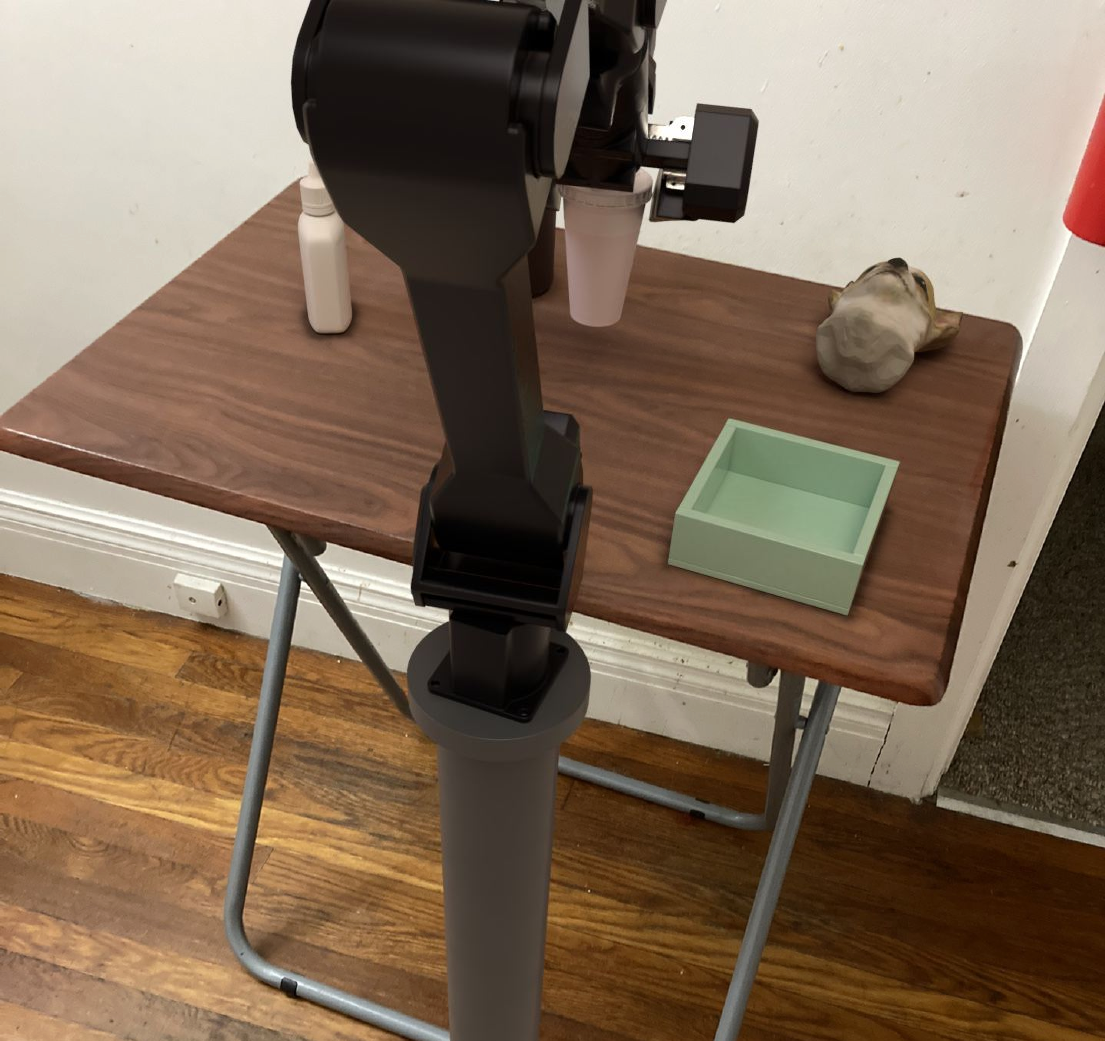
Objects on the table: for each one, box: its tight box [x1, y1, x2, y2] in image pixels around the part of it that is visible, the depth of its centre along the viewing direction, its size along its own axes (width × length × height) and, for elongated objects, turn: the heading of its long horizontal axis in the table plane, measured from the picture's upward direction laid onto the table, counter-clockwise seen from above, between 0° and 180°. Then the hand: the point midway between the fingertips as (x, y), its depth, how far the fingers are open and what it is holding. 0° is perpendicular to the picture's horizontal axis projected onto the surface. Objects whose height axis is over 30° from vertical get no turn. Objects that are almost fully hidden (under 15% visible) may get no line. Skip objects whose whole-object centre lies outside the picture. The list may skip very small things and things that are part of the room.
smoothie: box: [558, 167, 654, 328], centre depth 80 cm, size 6×6×14 cm
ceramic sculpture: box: [815, 257, 964, 394], centre depth 89 cm, size 11×9×15 cm
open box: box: [667, 418, 901, 616], centre depth 74 cm, size 12×12×4 cm
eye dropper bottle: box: [297, 159, 353, 334], centre depth 88 cm, size 4×6×12 cm
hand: (605, 209), depth 80 cm, fingers closed on smoothie, 6 cm apart
